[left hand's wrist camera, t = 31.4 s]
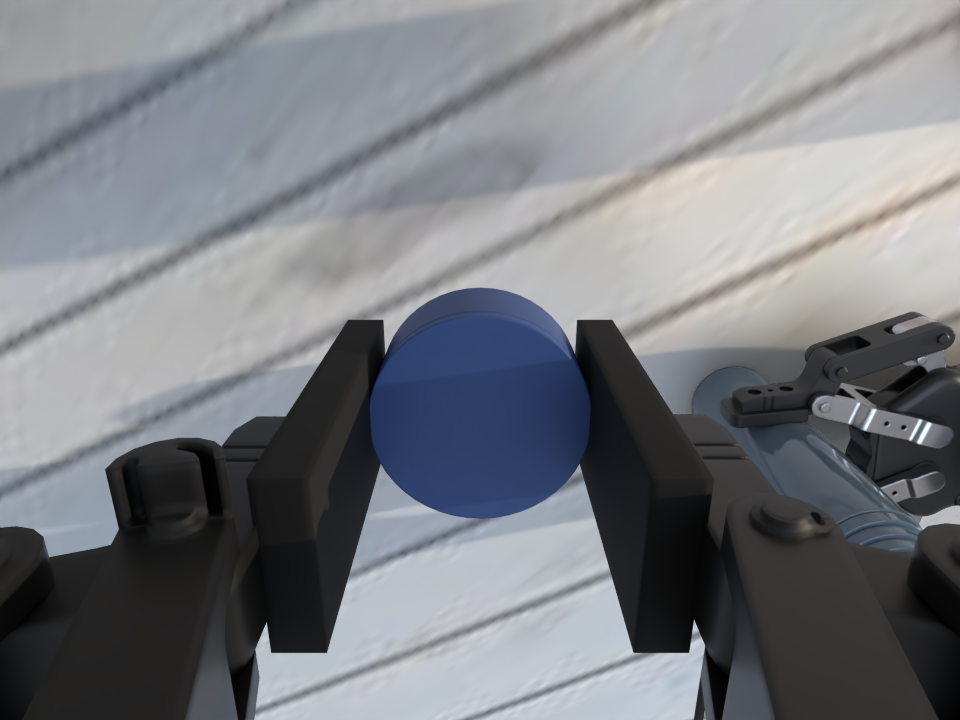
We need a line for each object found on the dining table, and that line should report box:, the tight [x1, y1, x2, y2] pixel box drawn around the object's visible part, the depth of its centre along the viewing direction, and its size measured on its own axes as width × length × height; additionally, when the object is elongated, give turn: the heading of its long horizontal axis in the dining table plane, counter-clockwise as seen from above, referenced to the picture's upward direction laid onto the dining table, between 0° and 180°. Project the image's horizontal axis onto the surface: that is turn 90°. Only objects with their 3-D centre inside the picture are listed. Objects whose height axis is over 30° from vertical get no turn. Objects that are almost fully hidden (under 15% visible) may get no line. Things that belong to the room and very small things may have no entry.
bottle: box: [692, 367, 922, 554], centre depth 31 cm, size 5×5×20 cm
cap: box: [370, 288, 591, 518], centre depth 13 cm, size 4×4×2 cm
